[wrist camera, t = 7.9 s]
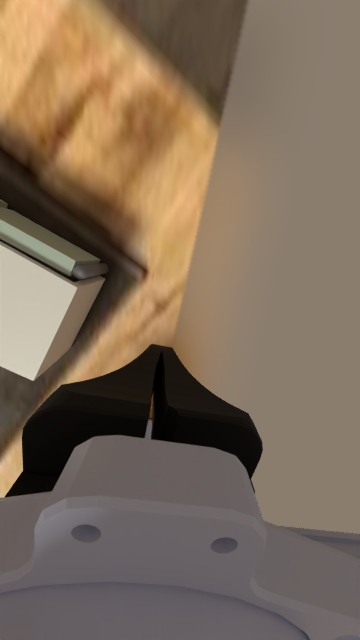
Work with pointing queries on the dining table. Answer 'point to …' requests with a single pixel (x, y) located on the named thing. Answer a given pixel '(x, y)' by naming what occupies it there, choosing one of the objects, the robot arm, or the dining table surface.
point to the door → (48, 246)
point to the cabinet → (39, 310)
